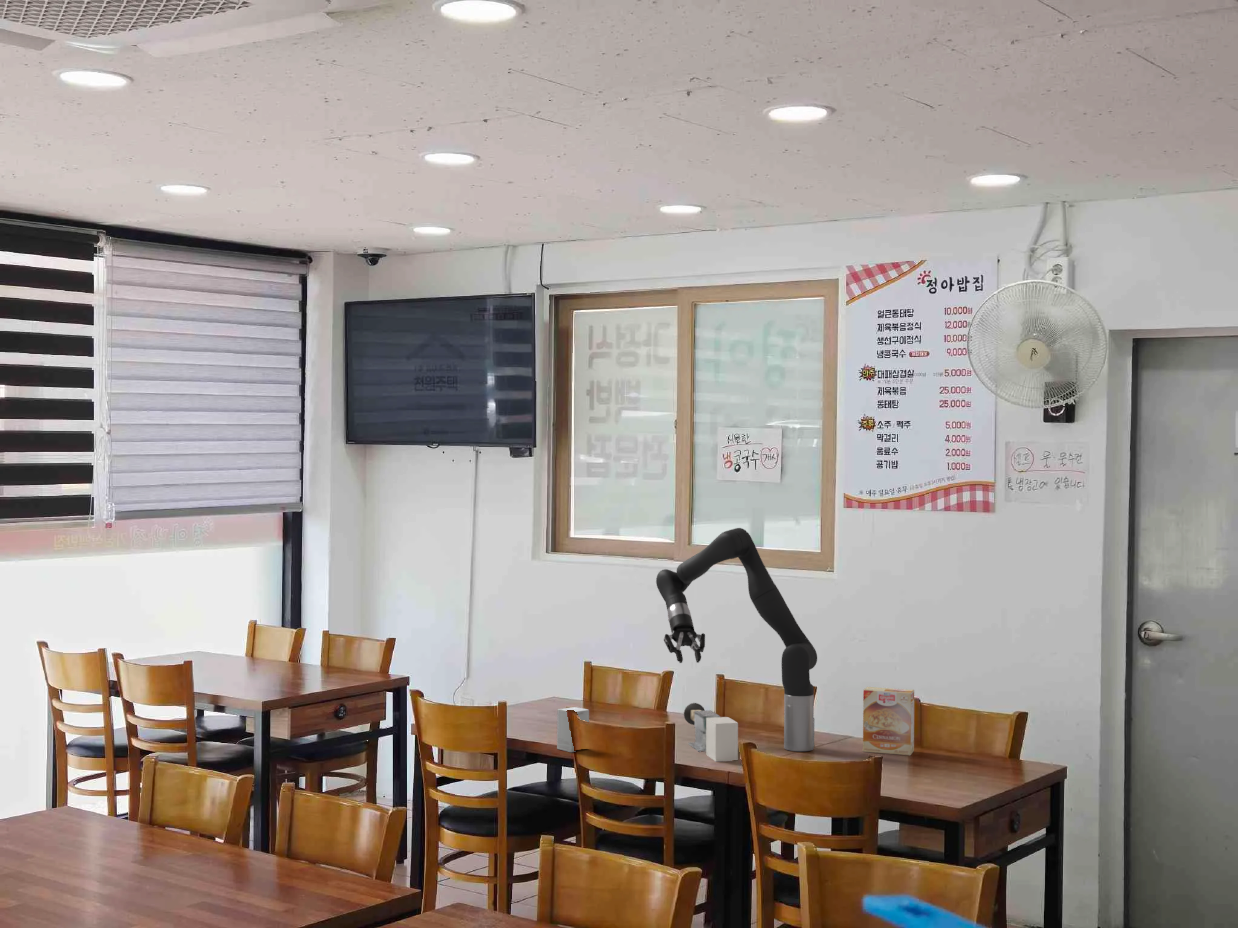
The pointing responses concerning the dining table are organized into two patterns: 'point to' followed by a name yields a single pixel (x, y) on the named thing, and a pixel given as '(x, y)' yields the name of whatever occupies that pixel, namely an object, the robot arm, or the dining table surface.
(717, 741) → the white rectangular block
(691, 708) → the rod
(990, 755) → the dining table surface
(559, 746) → the supplement box
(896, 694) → the coffeecake box
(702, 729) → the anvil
